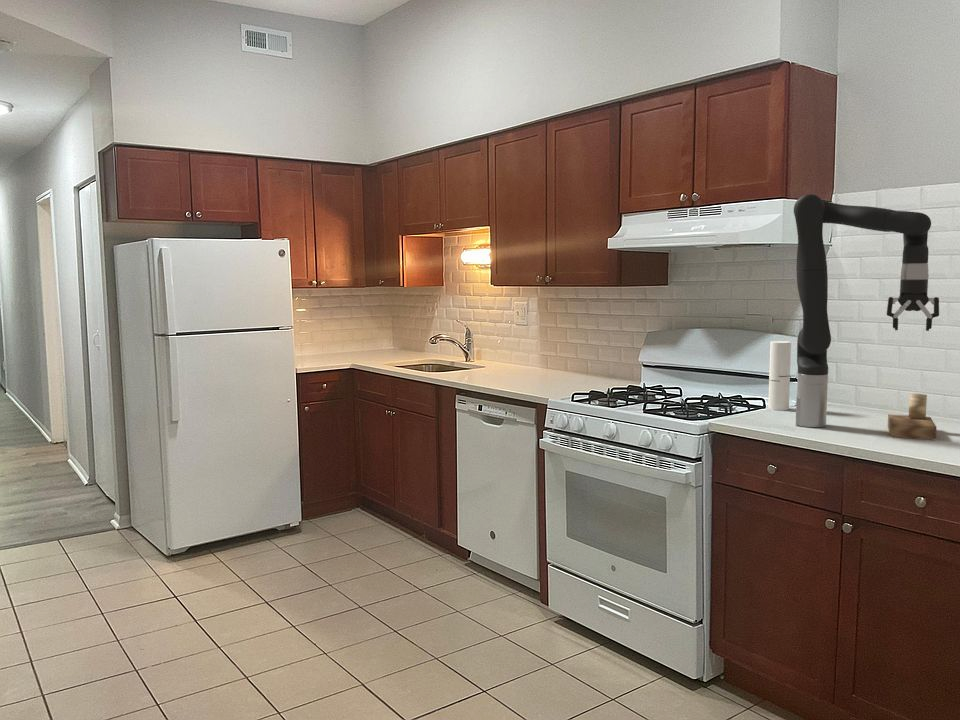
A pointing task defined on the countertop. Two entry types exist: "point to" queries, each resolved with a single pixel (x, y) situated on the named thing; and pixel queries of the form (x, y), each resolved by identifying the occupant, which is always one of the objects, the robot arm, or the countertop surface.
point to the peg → (917, 406)
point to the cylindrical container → (779, 375)
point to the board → (911, 427)
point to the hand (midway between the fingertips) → (911, 330)
